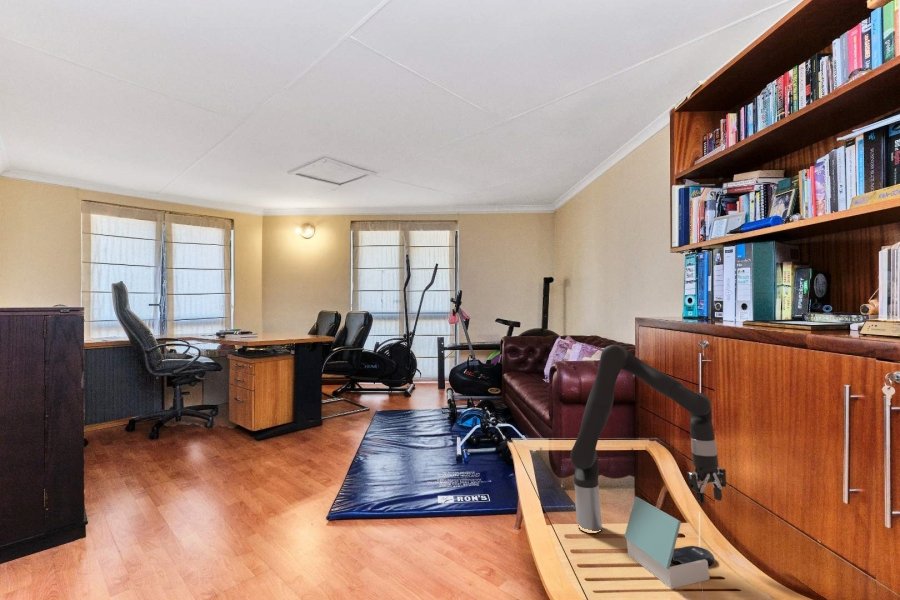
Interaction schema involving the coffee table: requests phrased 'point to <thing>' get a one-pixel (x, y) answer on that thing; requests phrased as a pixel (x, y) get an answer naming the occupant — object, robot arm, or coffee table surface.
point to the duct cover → (653, 531)
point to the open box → (671, 569)
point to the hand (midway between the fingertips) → (709, 501)
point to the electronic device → (691, 555)
